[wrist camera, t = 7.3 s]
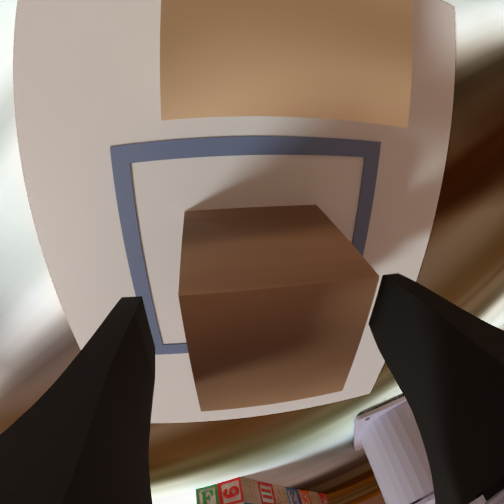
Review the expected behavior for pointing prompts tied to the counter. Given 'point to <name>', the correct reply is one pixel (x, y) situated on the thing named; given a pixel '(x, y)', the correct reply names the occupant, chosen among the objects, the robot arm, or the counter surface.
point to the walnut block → (270, 304)
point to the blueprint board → (204, 175)
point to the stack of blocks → (256, 494)
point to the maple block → (287, 59)
